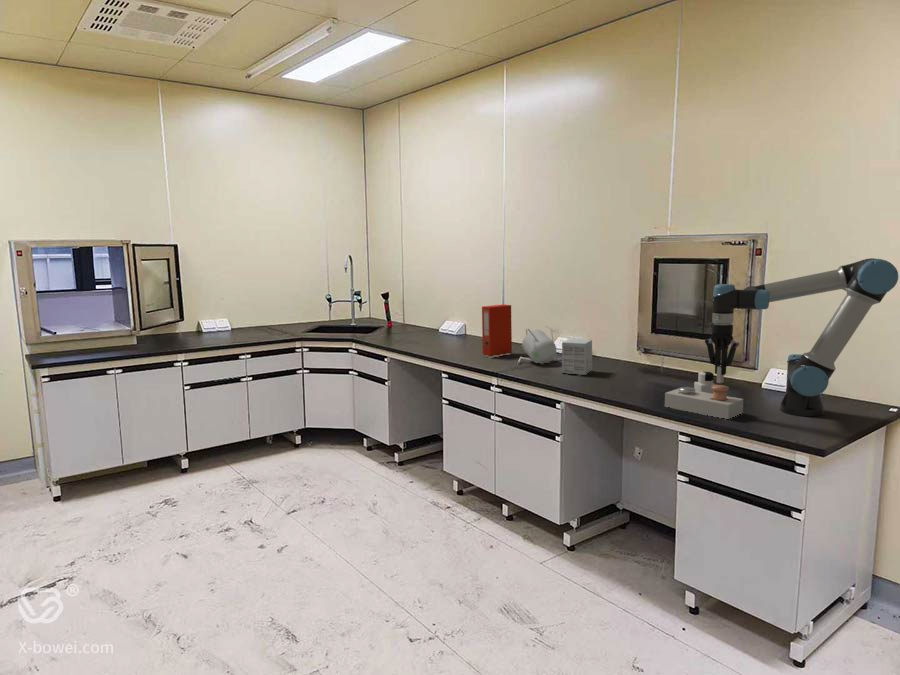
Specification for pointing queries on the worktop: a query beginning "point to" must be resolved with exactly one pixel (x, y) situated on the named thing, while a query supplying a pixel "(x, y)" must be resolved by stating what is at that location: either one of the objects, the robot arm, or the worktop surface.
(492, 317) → the file binder
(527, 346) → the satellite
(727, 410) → the block
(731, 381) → the worktop surface
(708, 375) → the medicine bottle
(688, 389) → the metal plug
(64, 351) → the worktop surface
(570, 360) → the supplement box
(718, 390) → the terracotta plug
